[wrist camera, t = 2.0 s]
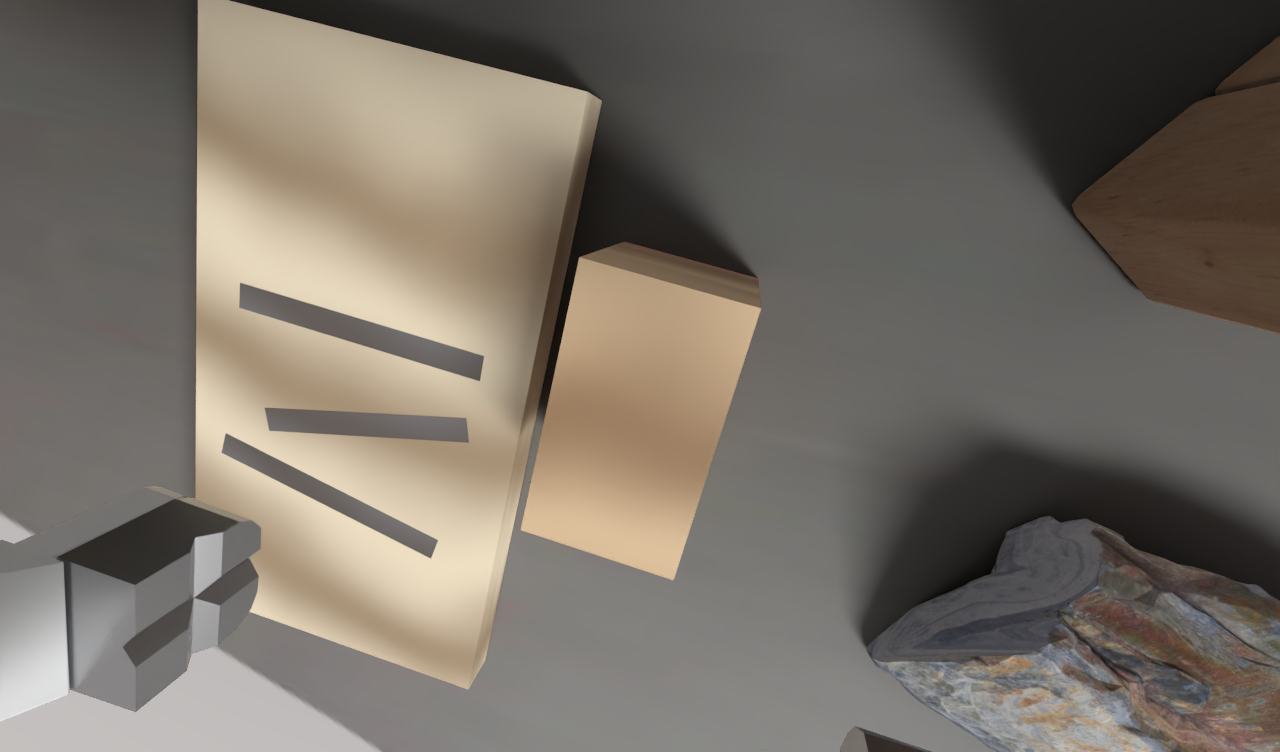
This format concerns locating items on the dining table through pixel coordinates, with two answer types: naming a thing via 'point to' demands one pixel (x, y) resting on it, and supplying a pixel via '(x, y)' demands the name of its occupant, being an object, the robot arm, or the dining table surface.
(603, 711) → the dining table surface
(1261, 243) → the stacked wooden blocks
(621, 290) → the block
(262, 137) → the board
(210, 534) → the robot arm
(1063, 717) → the stone
